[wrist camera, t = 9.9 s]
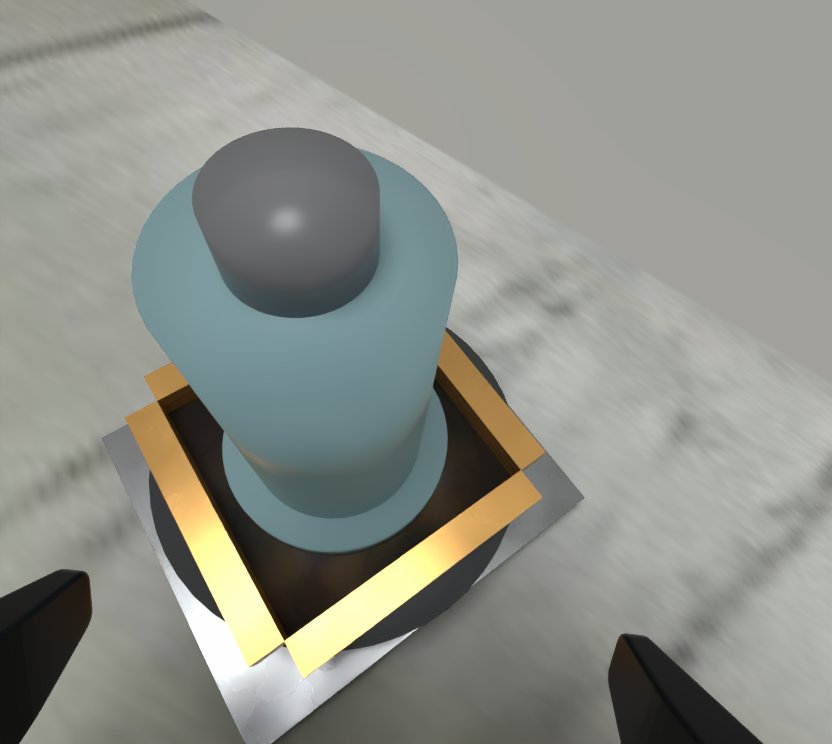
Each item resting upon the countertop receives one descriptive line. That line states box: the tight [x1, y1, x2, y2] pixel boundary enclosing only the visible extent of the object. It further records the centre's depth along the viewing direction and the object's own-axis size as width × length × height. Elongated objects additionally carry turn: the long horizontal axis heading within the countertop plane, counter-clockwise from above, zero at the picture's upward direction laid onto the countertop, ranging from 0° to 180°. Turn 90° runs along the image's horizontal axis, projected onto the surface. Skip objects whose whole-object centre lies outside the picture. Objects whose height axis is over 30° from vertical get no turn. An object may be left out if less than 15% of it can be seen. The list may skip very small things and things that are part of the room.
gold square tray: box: [102, 328, 584, 744], centre depth 21 cm, size 16×14×5 cm
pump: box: [132, 128, 458, 556], centre depth 14 cm, size 9×8×13 cm
